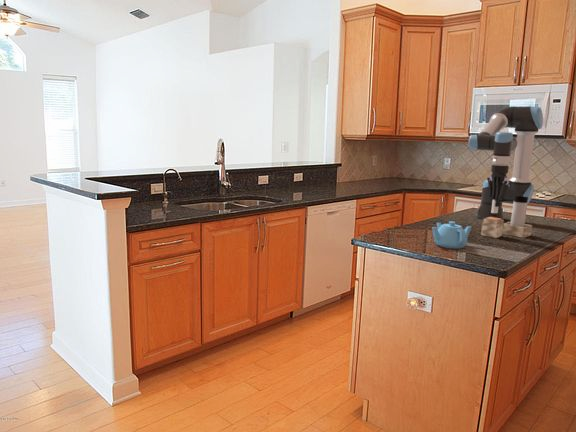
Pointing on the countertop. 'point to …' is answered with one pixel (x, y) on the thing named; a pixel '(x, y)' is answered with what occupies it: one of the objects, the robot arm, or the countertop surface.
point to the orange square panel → (493, 219)
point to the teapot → (450, 235)
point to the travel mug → (519, 211)
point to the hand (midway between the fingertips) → (494, 212)
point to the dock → (504, 229)
